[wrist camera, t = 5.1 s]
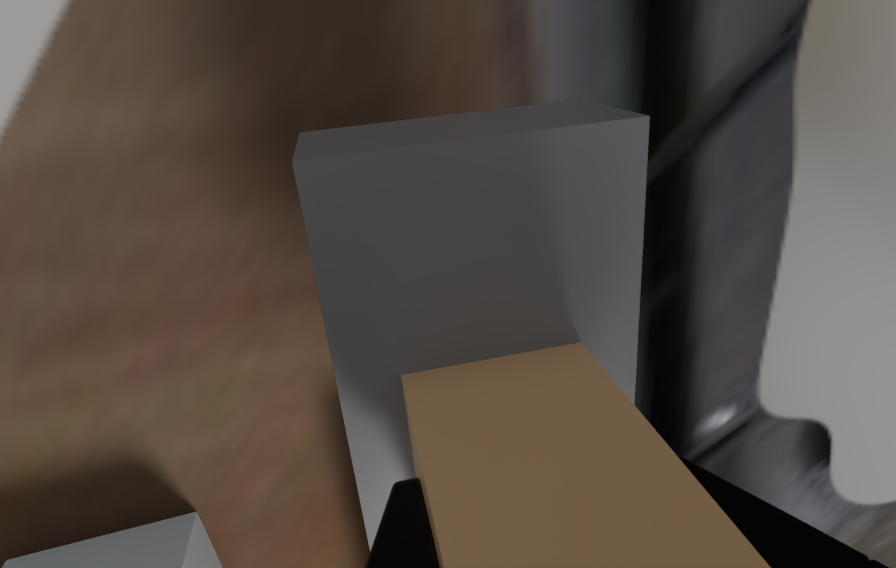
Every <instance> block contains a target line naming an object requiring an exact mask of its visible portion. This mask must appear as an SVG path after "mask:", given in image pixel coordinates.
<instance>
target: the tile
mask: <svg viewBox="0 0 896 568" xmlns="http://www.w3.org/2000/svg"><path fill="white" fill-rule="evenodd" d="M2 568H222V566H221V564H220V562H219V559H218V557H217V555H216V553H215V550H214V548H213V546H212V544H211V542H210V539H209V537H208V535H207V533H206V531H205V528H204V526H203V524H202V522H201V520H200V517H199V515H198V513H197V512H193V513H189V514H185V515H181V516H177V517H173V518H169V519H166V520H162V521H158V522H154V523H150V524H146V525H142V526H138V527H134V528H130V529H126V530H122V531H119V532H115V533H111V534H107V535H103V536H99V537H95V538H91V539H87V540H83V541H79V542H75V543H71V544H68V545H64V546H60V547H56V548H52V549H48V550H44V551H40V552H36V553H32V554H28V555H24V556H21V557H17V558H13V559H9V560H6V562H5V564H4V565H3V567H2Z"/></svg>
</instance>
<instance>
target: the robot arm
mask: <svg viewBox="0 0 896 568" xmlns="http://www.w3.org/2000/svg"><path fill="white" fill-rule="evenodd" d="M675 454H676V453H675ZM676 455H677V456H678V458H679V459H680V460H681V461H682V462H683V464H684V465H685V466H686V467H687V468H688V470H689V471H690V472H691V473H692V474H693V476H694V477H695V478H696V479H697V480H698V481H699V483H700V484H701V485H702V486H703V487H704V489H705V490H706V491H707V492H708V493H709V495H710V496H711V497H712V498H713V499H714V501H715V502H716V503H717V504H718V505H719V507H720V508H721V509H722V510H723V511H724V512H725V514H726V515H727V516H728V517H729V518H730V520H731V521H732V522H733V523H734V524H735V526H736V527H737V528H738V529H739V530H740V532H741V533H742V534H743V535H744V536H745V538H746V539H747V540H748V541H749V542H750V543H751V545H752V546H753V547H754V548H755V549H756V551H757V552H758V553H759V554H760V555H761V557H762V558H763V559H764V560H765V561H766V563H767V564H768V565H769V566H770V567H771V568H889V567H887V566H886V565H884V564H882V563H880V562H878V561H876V560H869V558H868V557H867V556H866V555H865V554H863V553H861V552H859V551H857V550H855V549H853V548H852V547H850V546H848V545H846V544H844V543H842V542H840V541H839V540H837V539H835V538H833V537H831V536H829V535H827V534H825V533H824V532H822V531H820V530H818V529H816V528H814V527H812V526H811V525H809V524H807V523H805V522H803V521H801V520H799V519H798V518H796V517H794V516H792V515H790V514H788V513H786V512H784V511H783V510H781V509H779V508H777V507H775V506H773V505H771V504H770V503H768V502H766V501H764V500H762V499H760V498H758V497H756V496H755V495H753V494H751V493H749V492H747V491H745V490H743V489H742V488H740V487H738V486H736V485H734V484H732V483H730V482H728V481H727V480H725V479H723V478H721V477H719V476H717V475H715V474H714V473H712V472H710V471H708V470H706V469H704V468H702V467H700V466H699V465H697V464H695V463H693V462H691V461H689V460H687V459H686V458H684V457H682V456H680V455H678V454H676ZM365 568H438V561H437V553H436V548H435V543H434V538H433V534H432V530H431V525H430V521H429V517H428V512H427V508H426V504H425V499H424V495H423V491H422V487H421V482H420V479H419V478H418V477H416V478H411V479H406V480H401V481H397V482H395V483H394V484H393V486H392V489H391V492H390V495H389V498H388V500H387V503H386V506H385V509H384V512H383V515H382V518H381V521H380V524H379V527H378V530H377V533H376V536H375V539H374V542H373V545H372V548H371V551H370V554H369V557H368V560H367V563H366V565H365Z"/></svg>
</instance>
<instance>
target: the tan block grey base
mask: <svg viewBox="0 0 896 568" xmlns="http://www.w3.org/2000/svg"><path fill="white" fill-rule="evenodd" d="M649 120H650V116H648V115H643V114H639V113H635V112H631V111H627V110H623V109H619V108H615V107H611V106H607V105H603V104H599V103H595V102H590V101H586V100H582V99H574V100H566V101H557V102H549V103H541V104H532V105H524V106H516V107H507V108H499V109H491V110H482V111H474V112H466V113H457V114H449V115H441V116H433V117H424V118H416V119H408V120H399V121H391V122H383V123H374V124H366V125H358V126H349V127H341V128H333V129H324V130H316V131H308V132H300V133H299V136H298V140H297V144H296V148H295V151H294V155H293V159H292V165H293V170H294V175H295V180H296V185H297V190H298V195H299V200H300V205H301V210H302V215H303V220H304V225H305V230H306V235H307V240H308V245H309V250H310V255H311V260H312V265H313V270H314V274H315V279H316V284H317V289H318V294H319V299H320V304H321V309H322V314H323V319H324V324H325V329H326V334H327V339H328V344H329V349H330V354H331V359H332V364H333V369H334V374H335V379H336V384H337V389H338V394H339V399H340V404H341V409H342V414H343V419H344V424H345V429H346V434H347V439H348V444H349V449H350V454H351V459H352V464H353V469H354V474H355V479H356V484H357V489H358V494H359V499H360V504H361V509H362V514H363V519H364V524H365V529H366V534H367V539H368V544H369V548H370V551H371V548H372V545H373V542H374V539H375V536H376V533H377V530H378V527H379V524H380V521H381V518H382V515H383V512H384V509H385V506H386V503H387V500H388V498H389V495H390V492H391V489H392V486H393V484H394V483H395V482H397V481H401V480H406V479H411V478H416V477H418V478H419V479H420V482H421V487H422V491H423V495H424V499H425V504H426V508H427V512H428V517H429V521H430V525H431V530H432V534H433V538H434V543H435V548H436V553H437V561H438V568H771V567H770V566H769V565H768V564H767V563H766V561H765V560H764V559H763V558H762V557H761V555H760V554H759V553H758V552H757V551H756V549H755V548H754V547H753V546H752V545H751V543H750V542H749V541H748V540H747V539H746V538H745V536H744V535H743V534H742V533H741V532H740V530H739V529H738V528H737V527H736V526H735V524H734V523H733V522H732V521H731V520H730V518H729V517H728V516H727V515H726V514H725V512H724V511H723V510H722V509H721V508H720V507H719V505H718V504H717V503H716V502H715V501H714V499H713V498H712V497H711V496H710V495H709V493H708V492H707V491H706V490H705V489H704V487H703V486H702V485H701V484H700V483H699V481H698V480H697V479H696V478H695V477H694V476H693V474H692V473H691V472H690V471H689V470H688V468H687V467H686V466H685V465H684V464H683V462H682V461H681V460H680V459H679V458H678V456H677V455H676V454H675V453H674V452H673V450H672V449H671V448H670V447H669V446H668V445H667V443H666V442H665V441H664V440H663V439H662V437H661V436H660V435H659V434H658V433H657V431H656V430H655V429H654V428H653V427H652V425H651V424H650V423H649V422H648V421H647V419H646V418H645V417H644V416H643V415H642V414H641V412H640V411H639V410H638V409H637V408H636V406H635V405H634V403H635V384H636V365H637V346H638V327H639V308H640V290H641V271H642V252H643V233H644V214H645V195H646V176H647V157H648V138H649Z"/></svg>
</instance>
